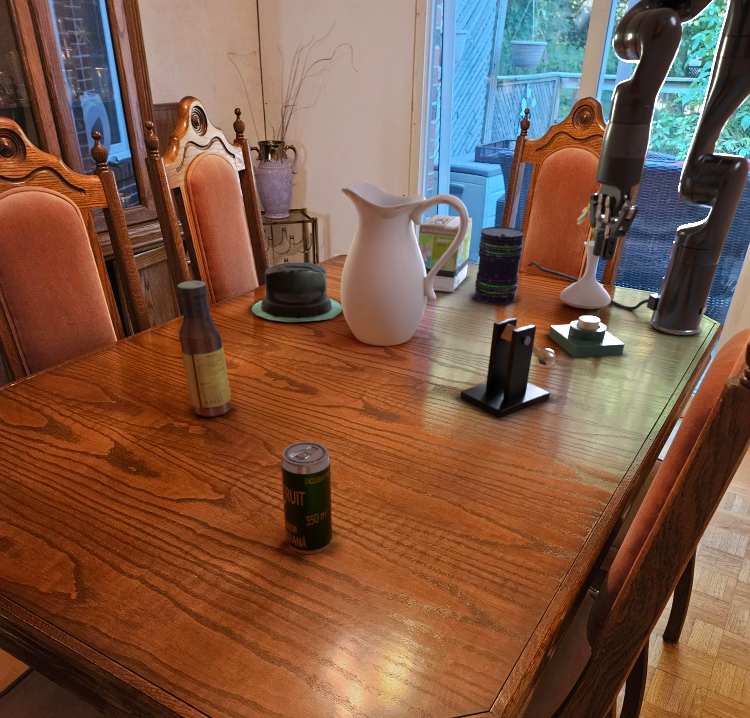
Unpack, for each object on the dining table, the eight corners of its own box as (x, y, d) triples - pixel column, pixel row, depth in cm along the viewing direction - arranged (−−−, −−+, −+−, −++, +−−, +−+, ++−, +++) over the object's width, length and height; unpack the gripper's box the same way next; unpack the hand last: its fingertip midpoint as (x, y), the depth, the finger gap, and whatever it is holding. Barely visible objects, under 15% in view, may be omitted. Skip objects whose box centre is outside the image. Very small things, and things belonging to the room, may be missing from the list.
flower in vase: (569, 295, 161) (590, 181, 147) (616, 304, 155) (642, 187, 141) (547, 308, 152) (567, 189, 138) (596, 318, 146) (621, 195, 132)
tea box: (454, 293, 160) (459, 228, 152) (414, 288, 162) (417, 224, 154) (467, 277, 172) (473, 216, 164) (429, 273, 174) (433, 212, 166)
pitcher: (327, 343, 131) (323, 189, 115) (360, 318, 144) (361, 176, 128) (443, 363, 123) (456, 202, 108) (467, 334, 136) (482, 186, 121)
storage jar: (474, 290, 162) (481, 225, 154) (515, 293, 161) (524, 227, 153) (473, 303, 154) (480, 235, 145) (516, 305, 153) (526, 237, 144)
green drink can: (309, 522, 81) (305, 435, 74) (341, 540, 78) (340, 451, 71) (276, 543, 78) (269, 453, 71) (309, 562, 75) (305, 471, 68)
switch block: (548, 336, 137) (551, 316, 134) (593, 333, 139) (597, 314, 136) (574, 358, 127) (578, 337, 125) (622, 354, 129) (627, 334, 127)
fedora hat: (327, 287, 159) (360, 315, 144) (264, 331, 158) (290, 364, 144) (296, 231, 149) (328, 255, 134) (228, 279, 148) (253, 308, 134)
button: (573, 324, 132) (575, 316, 131) (592, 323, 133) (594, 315, 132) (583, 331, 129) (584, 322, 128) (602, 330, 130) (603, 321, 129)
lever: (538, 366, 116) (547, 349, 115) (553, 372, 114) (562, 355, 113) (496, 338, 105) (506, 320, 105) (511, 344, 103) (521, 325, 103)
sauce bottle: (239, 405, 107) (226, 280, 96) (219, 421, 103) (203, 292, 91) (203, 398, 109) (186, 275, 98) (182, 414, 104) (162, 287, 93)
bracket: (509, 381, 117) (519, 309, 110) (549, 399, 111) (562, 325, 104) (459, 398, 111) (467, 323, 104) (499, 418, 105) (509, 340, 98)
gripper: (665, 158, 109) (640, 266, 118) (622, 147, 120) (602, 247, 130) (624, 158, 107) (601, 268, 117) (584, 148, 119) (566, 248, 128)
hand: (602, 256), depth 123 cm, fingers closed
